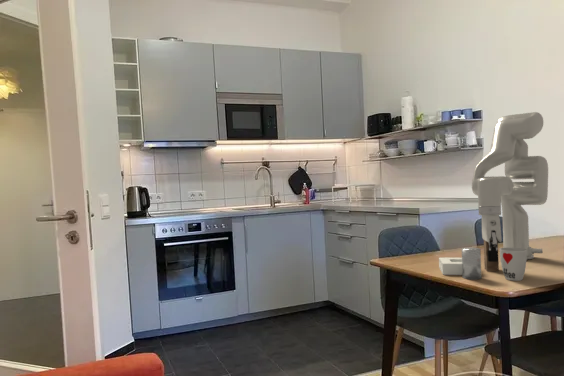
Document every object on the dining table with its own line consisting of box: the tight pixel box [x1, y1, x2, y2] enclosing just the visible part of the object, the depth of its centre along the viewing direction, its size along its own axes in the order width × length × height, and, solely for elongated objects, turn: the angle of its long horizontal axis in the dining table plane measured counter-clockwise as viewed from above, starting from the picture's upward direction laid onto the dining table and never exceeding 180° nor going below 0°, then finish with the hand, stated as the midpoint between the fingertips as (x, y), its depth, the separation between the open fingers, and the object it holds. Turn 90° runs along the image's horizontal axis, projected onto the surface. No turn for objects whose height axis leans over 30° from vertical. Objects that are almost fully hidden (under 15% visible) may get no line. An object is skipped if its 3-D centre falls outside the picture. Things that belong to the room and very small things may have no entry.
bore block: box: [438, 257, 462, 276], centre depth 160 cm, size 12×12×4 cm
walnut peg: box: [483, 239, 500, 272], centre depth 160 cm, size 4×4×12 cm
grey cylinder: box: [461, 247, 482, 281], centre depth 150 cm, size 6×6×10 cm
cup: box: [499, 247, 528, 282], centre depth 146 cm, size 8×8×10 cm
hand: (491, 259), depth 160 cm, fingers open, 4 cm apart
